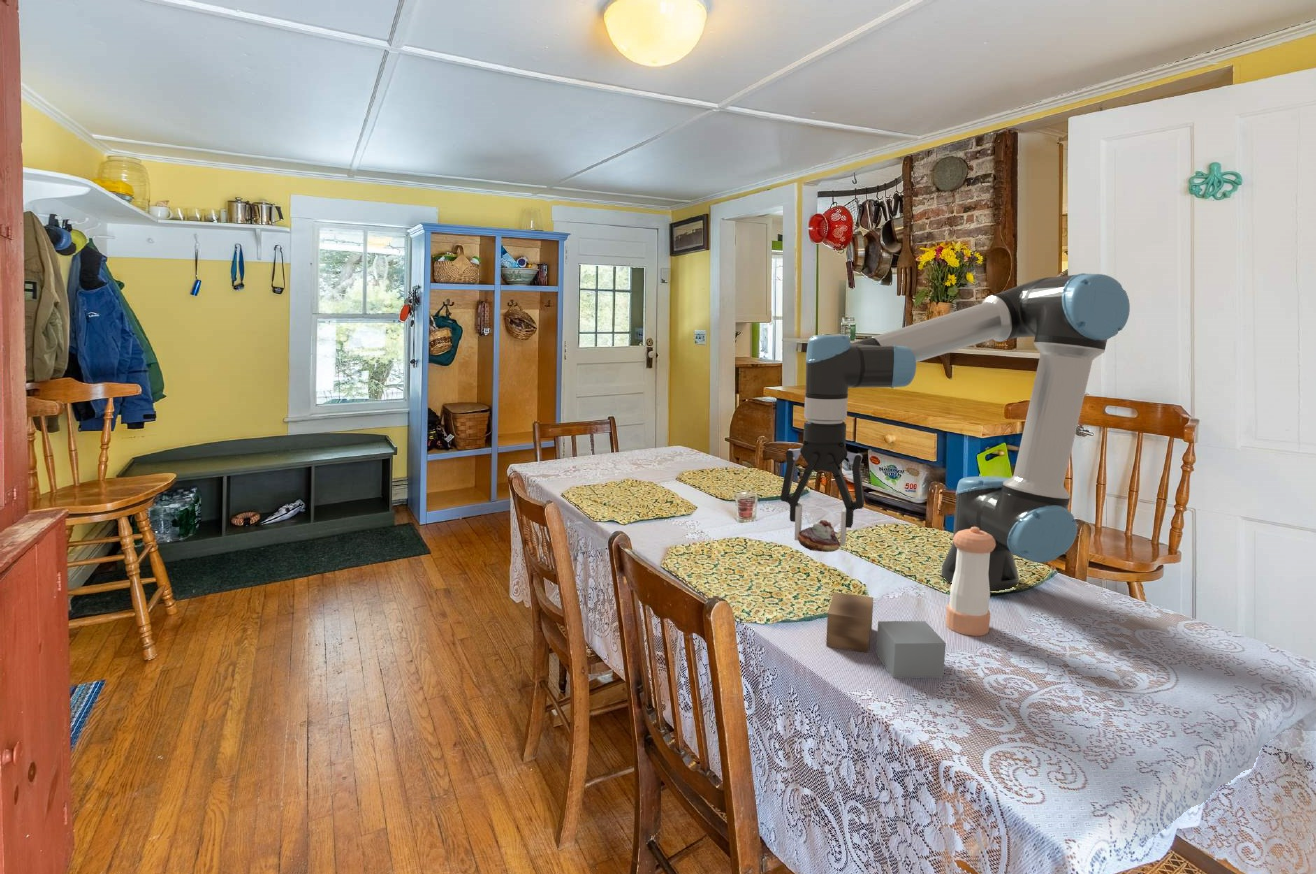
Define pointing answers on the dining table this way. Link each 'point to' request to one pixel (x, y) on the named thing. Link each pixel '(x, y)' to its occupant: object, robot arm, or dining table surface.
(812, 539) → the pastry
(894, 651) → the slate block
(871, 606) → the walnut block
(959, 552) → the pepper shaker
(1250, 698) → the dining table surface
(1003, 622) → the dining table surface
